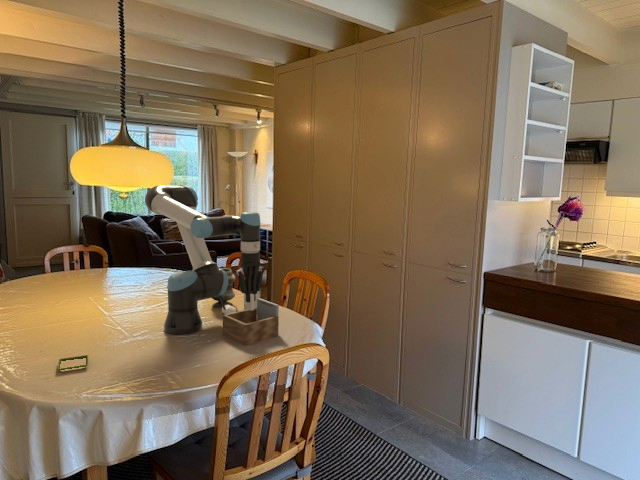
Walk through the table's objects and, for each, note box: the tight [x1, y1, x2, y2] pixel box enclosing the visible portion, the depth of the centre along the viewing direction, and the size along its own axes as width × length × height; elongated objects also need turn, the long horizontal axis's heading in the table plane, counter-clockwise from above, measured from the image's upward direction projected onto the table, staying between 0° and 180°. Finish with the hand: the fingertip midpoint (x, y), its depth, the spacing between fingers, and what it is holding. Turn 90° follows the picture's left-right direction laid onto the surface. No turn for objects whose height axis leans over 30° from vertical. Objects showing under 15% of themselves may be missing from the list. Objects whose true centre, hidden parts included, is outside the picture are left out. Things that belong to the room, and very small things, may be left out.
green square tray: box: [57, 354, 89, 371], centre depth 145 cm, size 9×9×2 cm
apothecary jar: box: [211, 267, 236, 309], centre depth 215 cm, size 12×12×18 cm
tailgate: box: [257, 297, 279, 321], centre depth 182 cm, size 2×13×10 cm, turn 44°
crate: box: [221, 308, 280, 346], centre depth 177 cm, size 16×16×8 cm
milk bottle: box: [243, 290, 261, 310], centre depth 207 cm, size 8×8×20 cm
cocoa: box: [219, 295, 239, 315], centre depth 195 cm, size 10×6×12 cm, turn 114°
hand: (250, 309), depth 176 cm, fingers closed
